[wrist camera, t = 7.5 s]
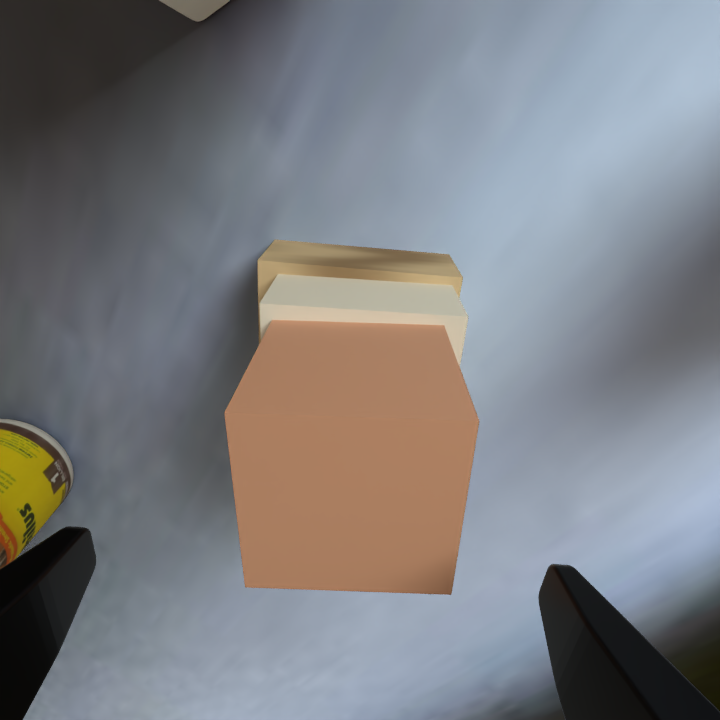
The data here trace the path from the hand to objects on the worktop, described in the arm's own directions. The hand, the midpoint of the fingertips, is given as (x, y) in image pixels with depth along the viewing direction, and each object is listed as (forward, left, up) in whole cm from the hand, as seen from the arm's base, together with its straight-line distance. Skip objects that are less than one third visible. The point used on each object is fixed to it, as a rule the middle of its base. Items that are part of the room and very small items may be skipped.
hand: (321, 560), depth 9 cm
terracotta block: (-1, 0, -6) cm, 6 cm away
